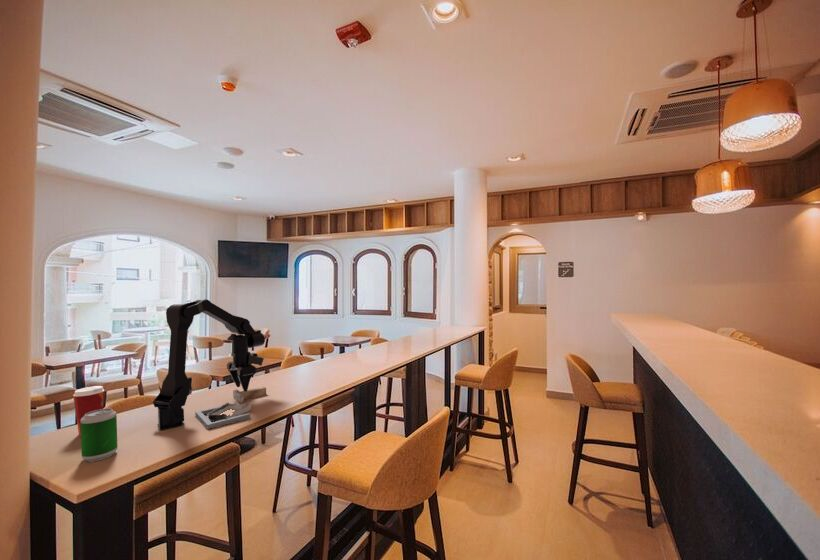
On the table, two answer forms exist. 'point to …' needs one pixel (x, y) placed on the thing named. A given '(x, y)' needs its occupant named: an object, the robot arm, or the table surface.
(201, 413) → the tile frame
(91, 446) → the soda can
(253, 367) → the robot arm
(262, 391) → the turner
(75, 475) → the table surface
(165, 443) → the table surface
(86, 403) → the paper cup
